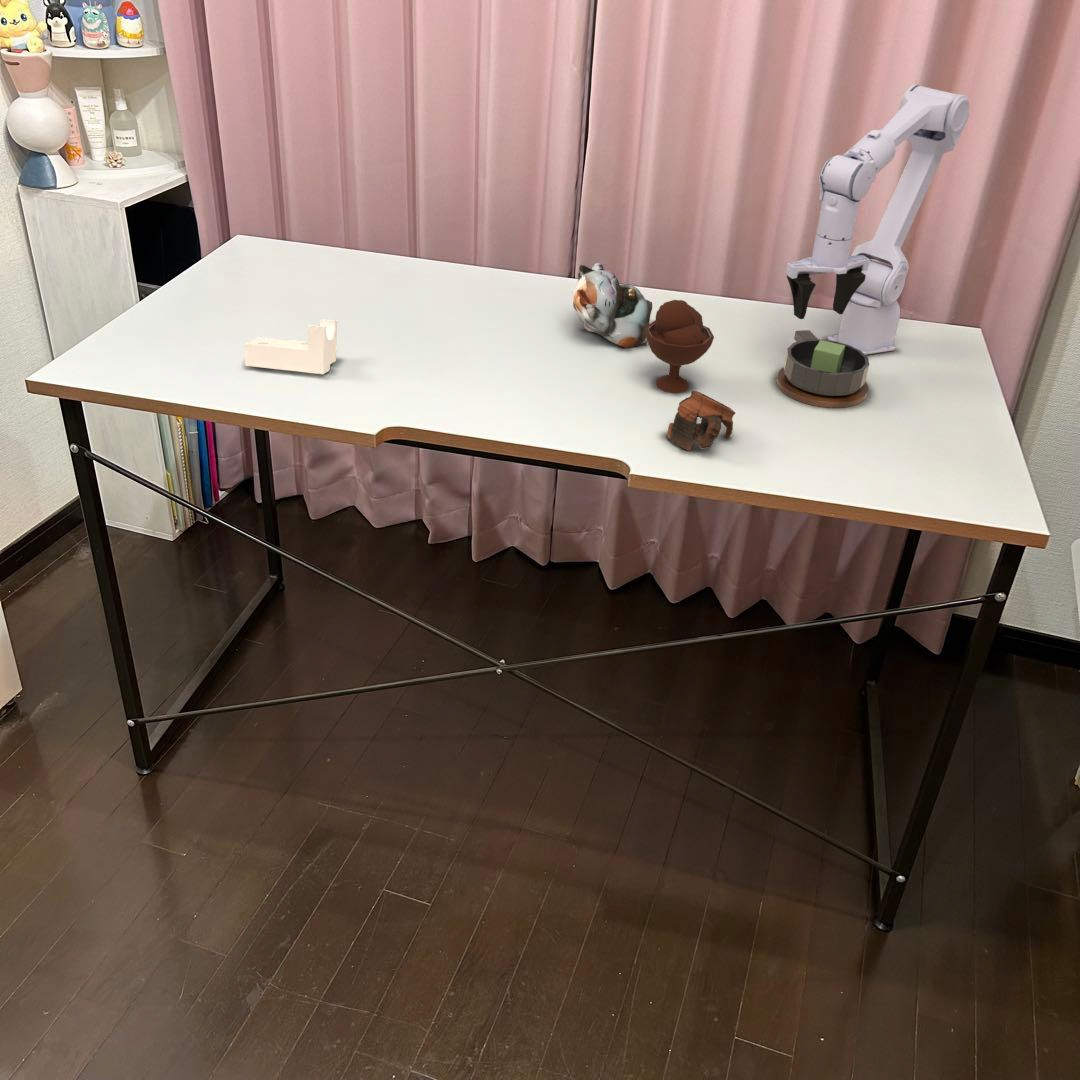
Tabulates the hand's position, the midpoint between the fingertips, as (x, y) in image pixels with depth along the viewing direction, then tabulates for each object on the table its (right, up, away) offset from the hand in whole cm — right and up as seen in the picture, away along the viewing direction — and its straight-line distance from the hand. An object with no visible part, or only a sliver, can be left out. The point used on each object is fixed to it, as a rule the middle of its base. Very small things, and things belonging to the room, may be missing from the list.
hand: (818, 314), depth 189 cm
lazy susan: (+1, -12, +1) cm, 12 cm away
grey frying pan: (0, -10, +2) cm, 10 cm away
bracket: (-87, -9, -2) cm, 87 cm away
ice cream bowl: (-24, -12, -1) cm, 27 cm away
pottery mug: (-22, -23, -16) cm, 36 cm away
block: (+1, -10, 0) cm, 10 cm away
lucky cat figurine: (-34, -1, +14) cm, 36 cm away
